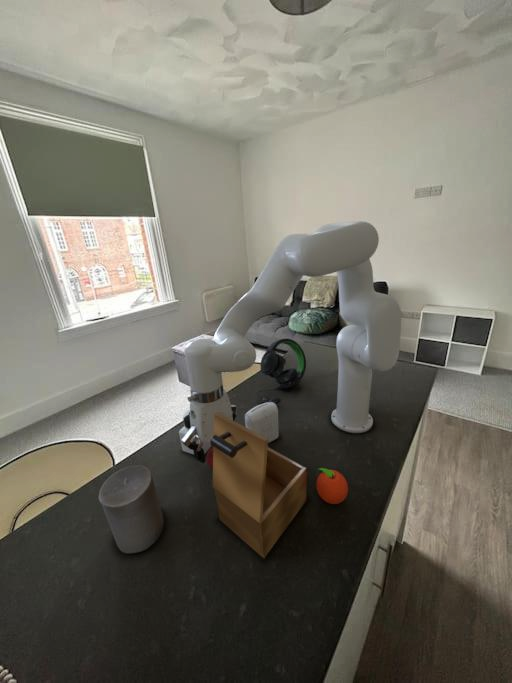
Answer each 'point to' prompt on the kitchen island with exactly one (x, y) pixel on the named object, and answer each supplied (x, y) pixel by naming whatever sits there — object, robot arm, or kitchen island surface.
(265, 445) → the lid
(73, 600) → the kitchen island surface
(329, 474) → the clementine
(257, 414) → the photo printer
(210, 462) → the onion
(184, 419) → the medicine bottle
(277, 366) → the headset
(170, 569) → the kitchen island surface
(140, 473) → the pillar candle
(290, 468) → the chest
